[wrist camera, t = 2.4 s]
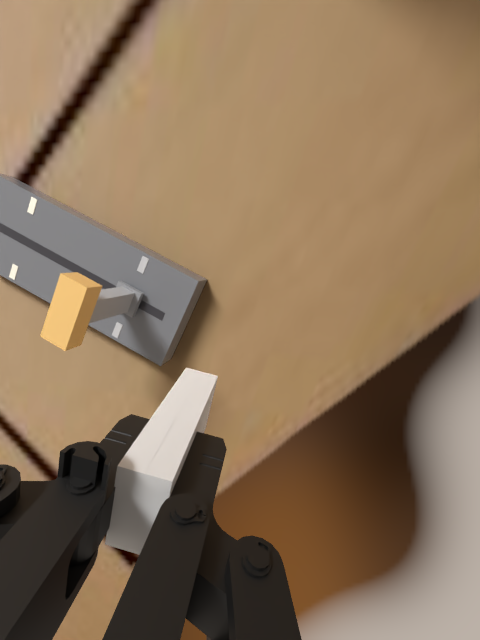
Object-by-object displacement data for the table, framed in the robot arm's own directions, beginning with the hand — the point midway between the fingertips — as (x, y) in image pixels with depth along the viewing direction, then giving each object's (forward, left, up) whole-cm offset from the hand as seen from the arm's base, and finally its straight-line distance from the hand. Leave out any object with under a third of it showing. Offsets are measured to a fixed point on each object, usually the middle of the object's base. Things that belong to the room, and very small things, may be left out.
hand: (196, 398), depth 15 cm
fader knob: (-5, -14, -20) cm, 25 cm away
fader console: (-10, -20, -23) cm, 32 cm away
